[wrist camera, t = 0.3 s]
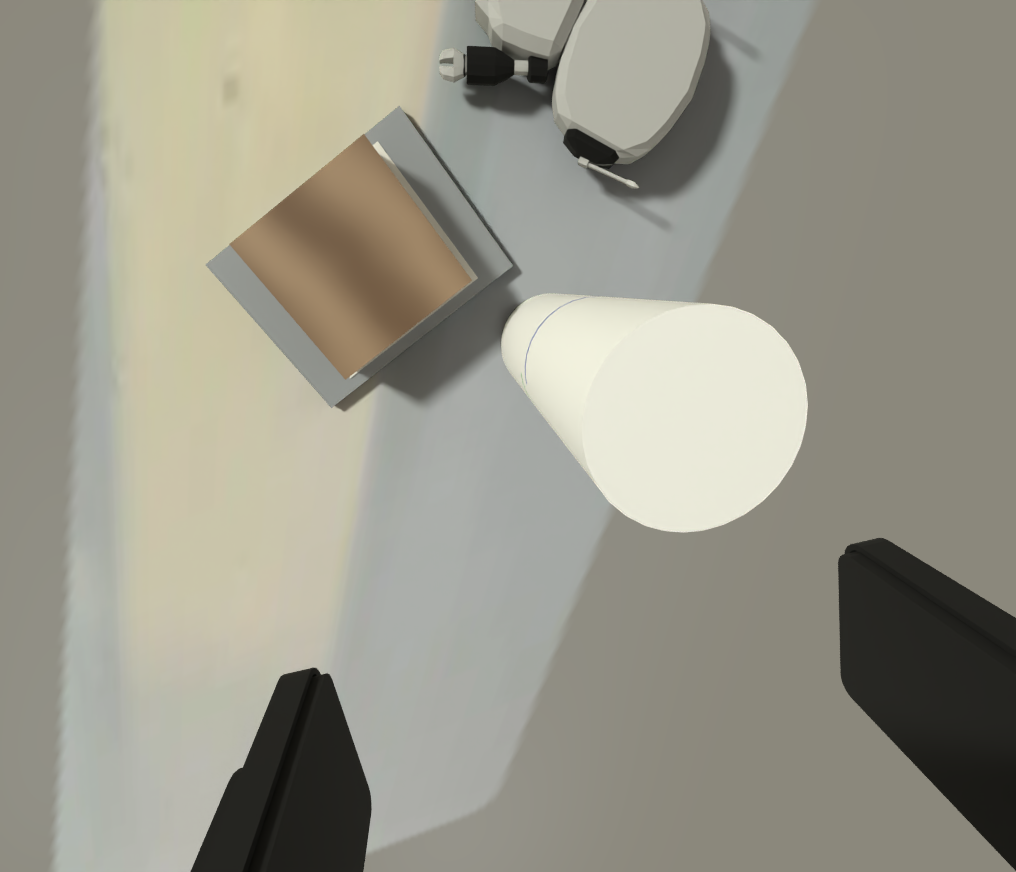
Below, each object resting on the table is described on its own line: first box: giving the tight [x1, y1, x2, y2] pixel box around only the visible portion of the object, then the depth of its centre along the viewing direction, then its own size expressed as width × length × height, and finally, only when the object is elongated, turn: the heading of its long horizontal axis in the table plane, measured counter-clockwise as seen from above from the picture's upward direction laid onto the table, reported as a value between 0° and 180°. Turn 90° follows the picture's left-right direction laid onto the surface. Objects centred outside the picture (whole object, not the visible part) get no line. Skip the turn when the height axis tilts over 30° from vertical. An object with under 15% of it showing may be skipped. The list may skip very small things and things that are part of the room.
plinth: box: [229, 134, 472, 380], centre depth 36 cm, size 10×10×4 cm
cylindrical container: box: [501, 293, 808, 532], centre depth 29 cm, size 7×7×25 cm
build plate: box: [206, 106, 513, 408], centre depth 38 cm, size 16×12×1 cm
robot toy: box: [439, 0, 711, 189], centre depth 35 cm, size 12×4×15 cm
